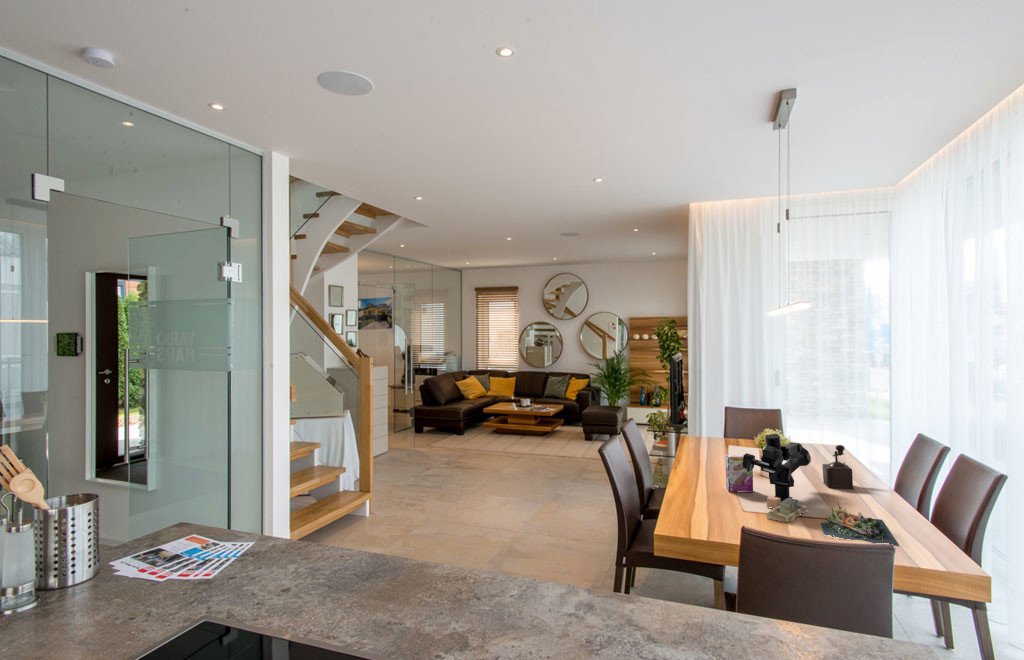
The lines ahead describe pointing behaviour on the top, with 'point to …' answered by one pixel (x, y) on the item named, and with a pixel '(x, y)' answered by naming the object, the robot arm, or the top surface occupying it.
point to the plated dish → (857, 527)
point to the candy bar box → (737, 474)
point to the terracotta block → (773, 502)
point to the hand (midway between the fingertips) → (758, 474)
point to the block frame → (786, 510)
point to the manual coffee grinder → (837, 472)
